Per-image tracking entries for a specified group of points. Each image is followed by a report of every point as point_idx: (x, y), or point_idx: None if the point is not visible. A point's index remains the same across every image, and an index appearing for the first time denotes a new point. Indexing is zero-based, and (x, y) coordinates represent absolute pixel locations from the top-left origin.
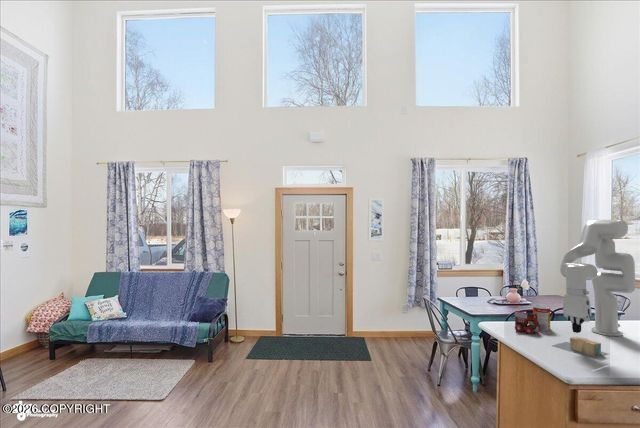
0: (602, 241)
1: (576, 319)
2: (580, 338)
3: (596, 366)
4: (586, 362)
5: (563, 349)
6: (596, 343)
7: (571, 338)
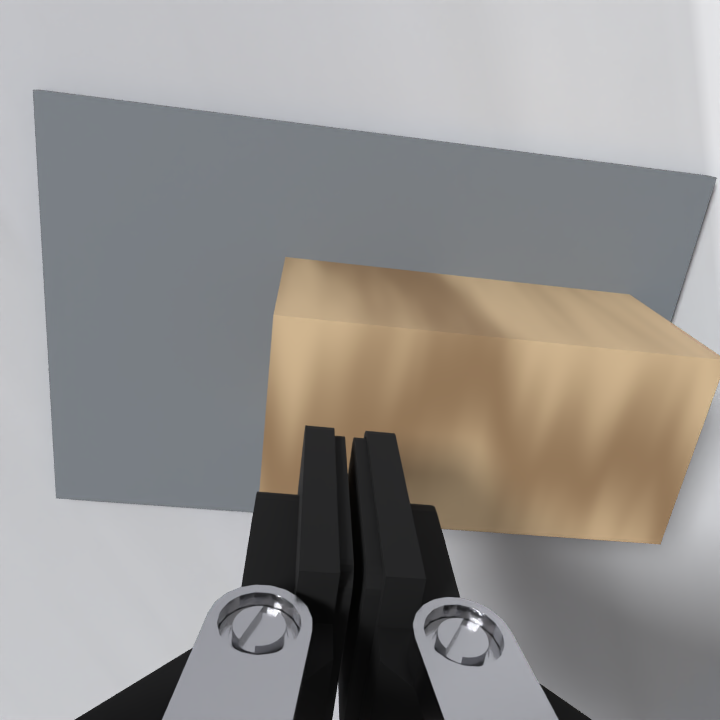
0: None
1: (300, 696)
2: (390, 403)
3: (652, 689)
4: (557, 665)
5: (232, 508)
6: (672, 470)
7: None
